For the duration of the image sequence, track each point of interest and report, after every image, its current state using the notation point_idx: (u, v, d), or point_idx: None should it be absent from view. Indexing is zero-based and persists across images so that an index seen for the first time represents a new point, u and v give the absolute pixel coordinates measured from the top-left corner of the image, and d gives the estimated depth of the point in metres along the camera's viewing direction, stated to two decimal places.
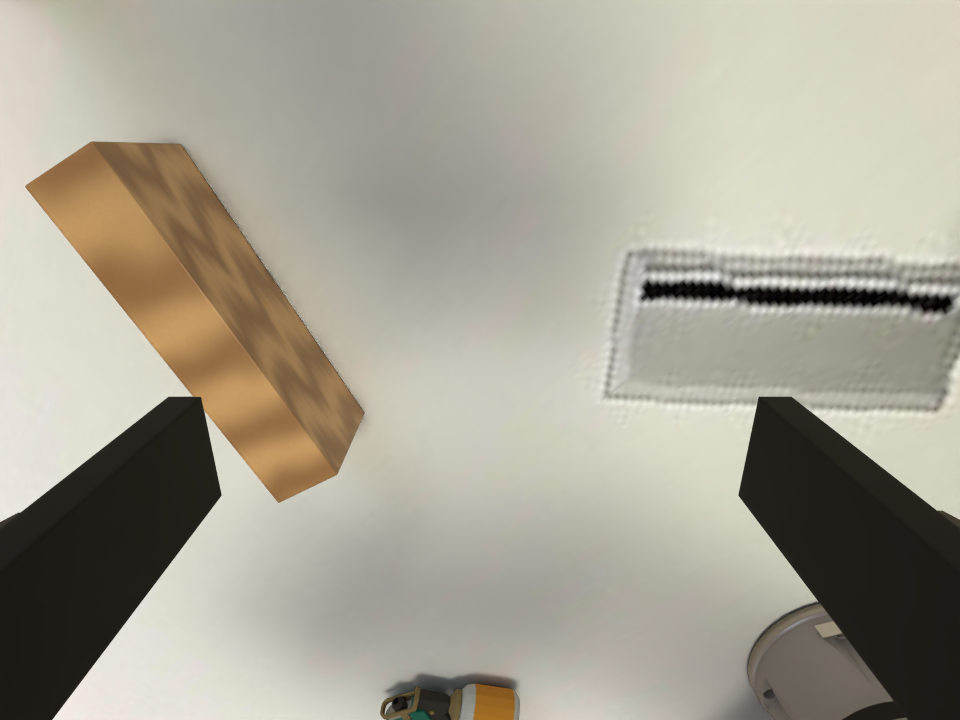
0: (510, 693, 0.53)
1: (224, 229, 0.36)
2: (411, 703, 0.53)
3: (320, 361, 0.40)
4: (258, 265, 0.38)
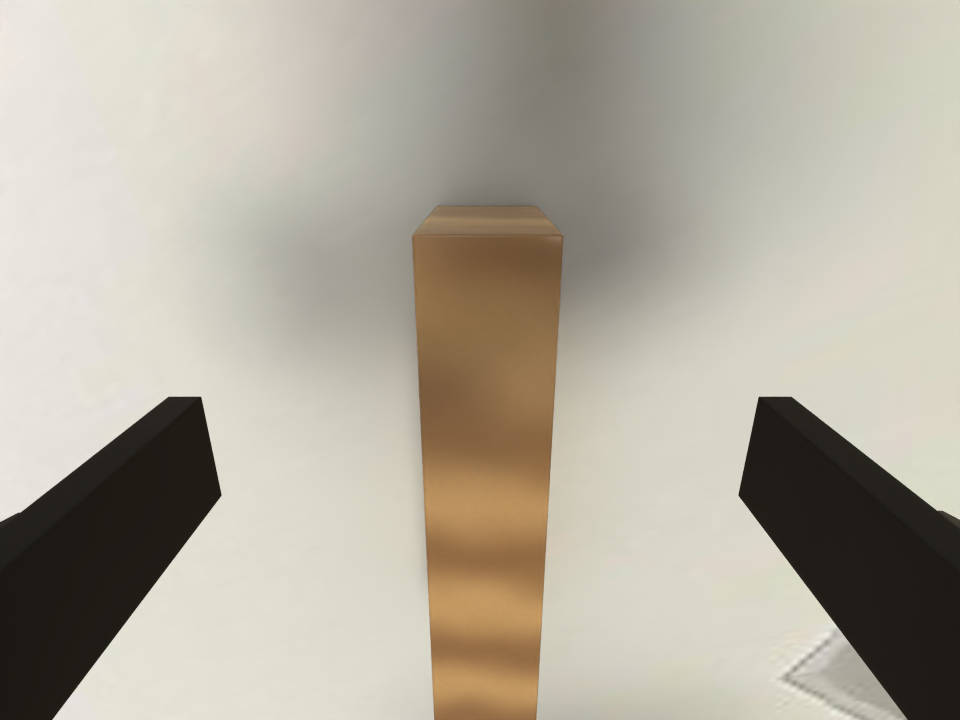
0: None
1: None
2: None
3: None
4: None
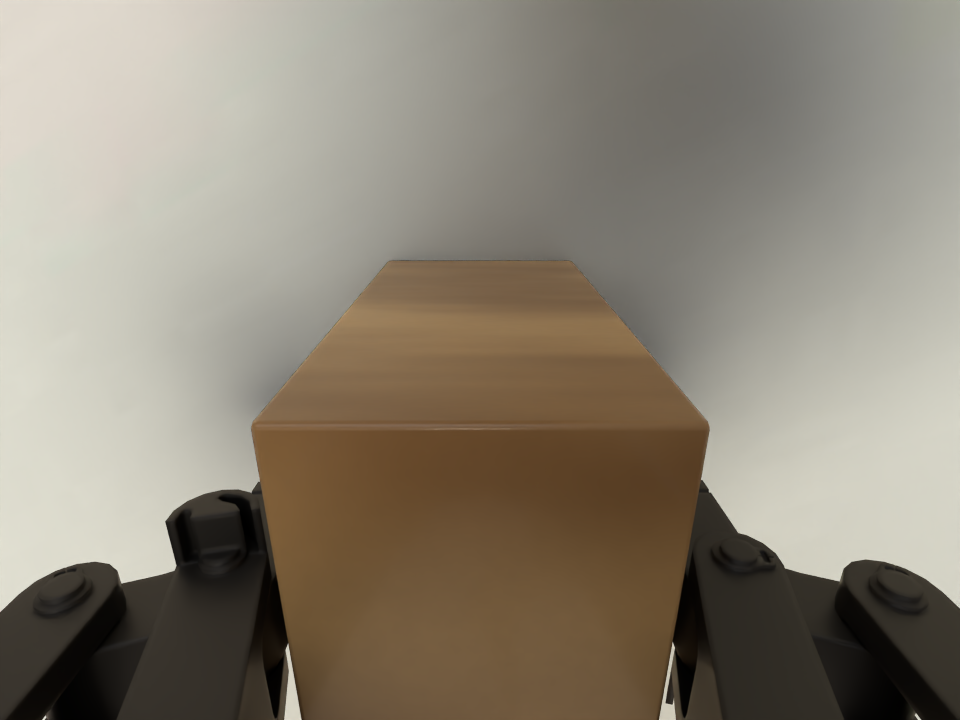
0: None
1: None
2: None
3: None
4: None
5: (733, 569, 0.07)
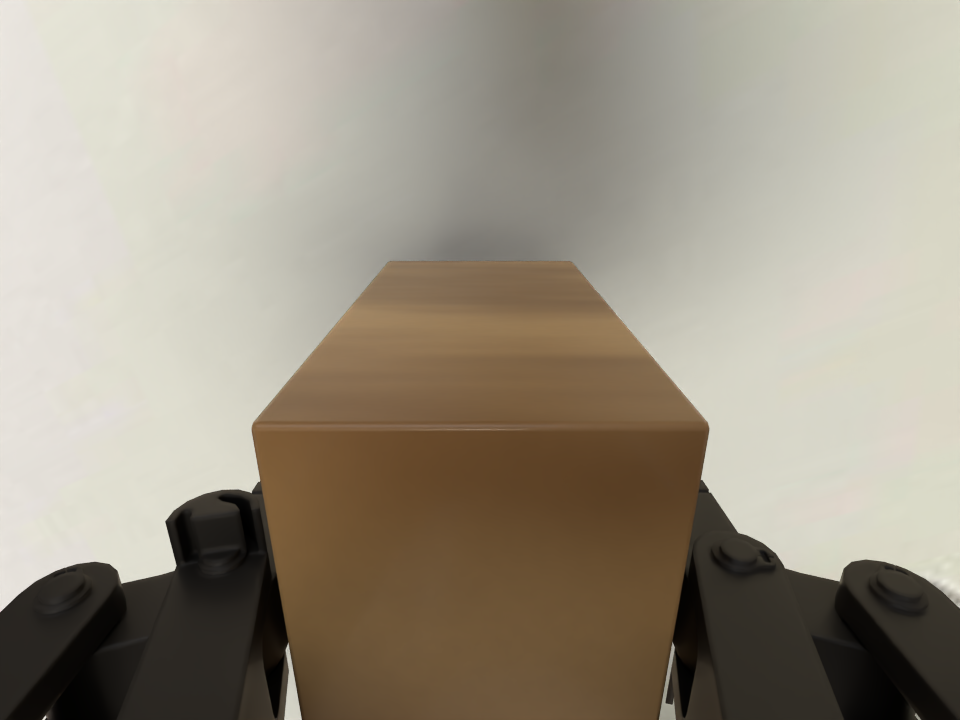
0: None
1: None
2: None
3: None
4: None
5: (733, 569, 0.07)
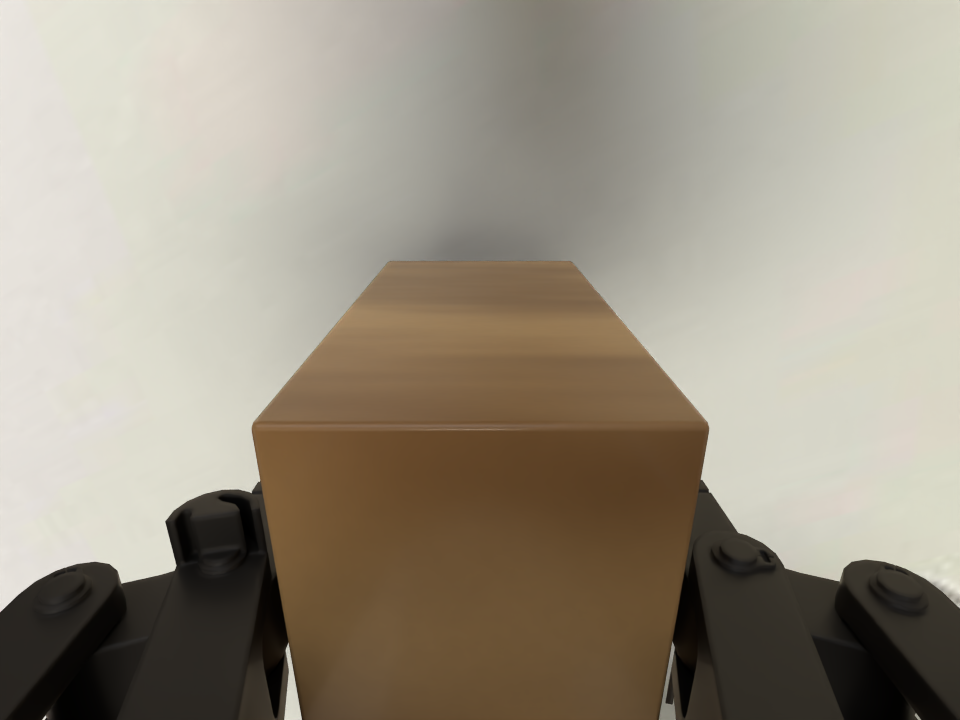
0: None
1: None
2: None
3: None
4: None
5: (733, 568, 0.07)
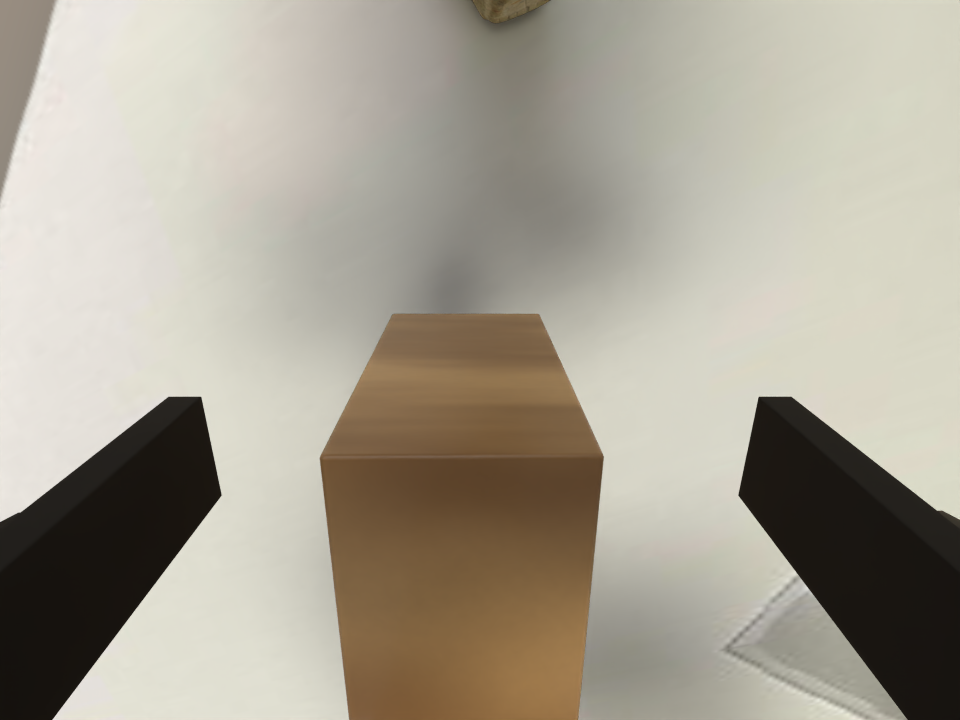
0: None
1: None
2: None
3: None
4: None
5: None
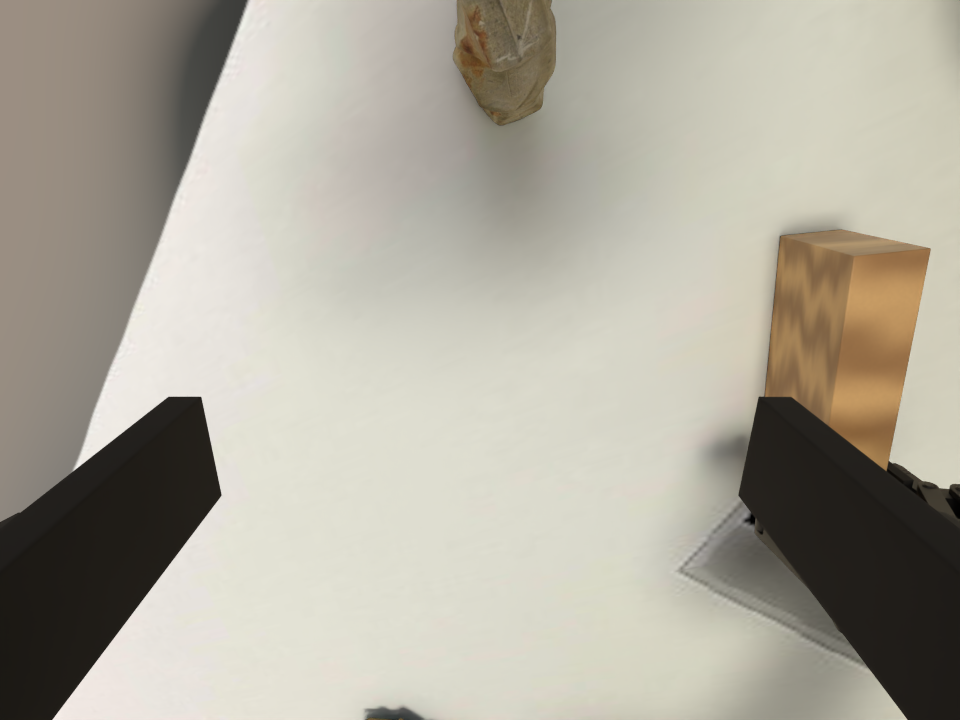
0: None
1: None
2: None
3: None
4: None
5: None
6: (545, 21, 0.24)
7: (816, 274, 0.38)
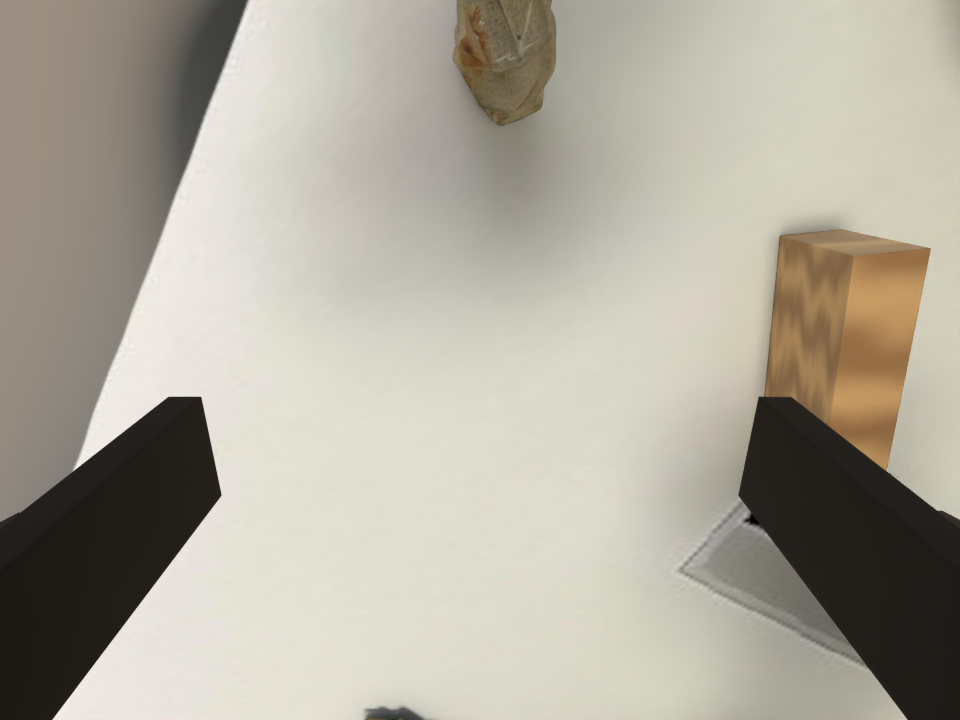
0: None
1: None
2: None
3: None
4: None
5: None
6: (545, 21, 0.24)
7: (816, 274, 0.38)
